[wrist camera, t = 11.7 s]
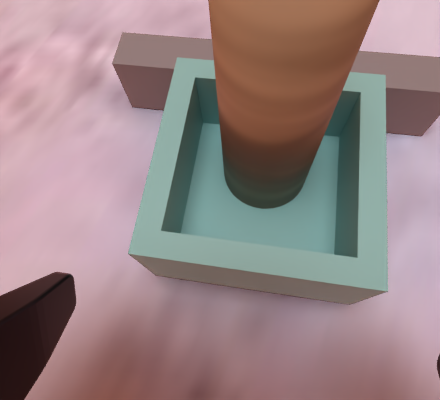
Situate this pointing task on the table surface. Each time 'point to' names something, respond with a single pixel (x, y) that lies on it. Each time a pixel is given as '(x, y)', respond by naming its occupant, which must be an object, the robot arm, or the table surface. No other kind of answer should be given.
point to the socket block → (274, 217)
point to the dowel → (280, 87)
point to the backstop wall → (364, 63)
